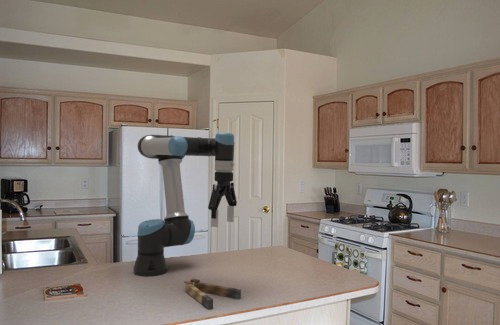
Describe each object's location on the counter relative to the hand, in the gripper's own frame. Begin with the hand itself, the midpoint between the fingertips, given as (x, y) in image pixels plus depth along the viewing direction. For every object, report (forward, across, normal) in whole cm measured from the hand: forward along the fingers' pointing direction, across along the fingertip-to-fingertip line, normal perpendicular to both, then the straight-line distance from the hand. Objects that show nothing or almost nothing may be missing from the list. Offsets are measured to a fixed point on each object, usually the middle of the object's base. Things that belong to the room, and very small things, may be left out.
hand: (222, 224), depth 161 cm
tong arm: (+26, -15, +2) cm, 30 cm away
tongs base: (+26, -8, 0) cm, 27 cm away
